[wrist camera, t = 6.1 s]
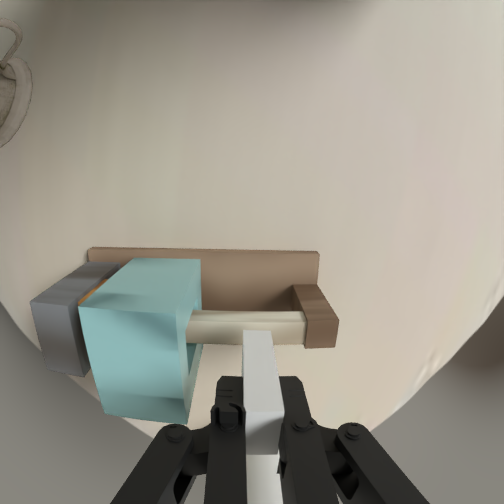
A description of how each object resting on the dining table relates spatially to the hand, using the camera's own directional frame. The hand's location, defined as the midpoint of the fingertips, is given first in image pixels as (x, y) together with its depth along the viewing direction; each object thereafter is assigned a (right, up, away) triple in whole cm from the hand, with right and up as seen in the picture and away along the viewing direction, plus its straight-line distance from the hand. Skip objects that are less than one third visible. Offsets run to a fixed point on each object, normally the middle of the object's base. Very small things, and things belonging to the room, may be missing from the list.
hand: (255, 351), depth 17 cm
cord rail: (-5, +2, +9) cm, 10 cm away
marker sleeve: (-6, +2, +6) cm, 9 cm away
